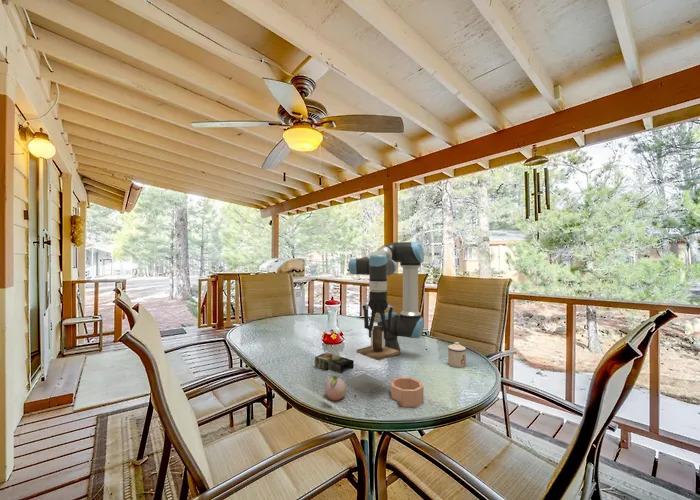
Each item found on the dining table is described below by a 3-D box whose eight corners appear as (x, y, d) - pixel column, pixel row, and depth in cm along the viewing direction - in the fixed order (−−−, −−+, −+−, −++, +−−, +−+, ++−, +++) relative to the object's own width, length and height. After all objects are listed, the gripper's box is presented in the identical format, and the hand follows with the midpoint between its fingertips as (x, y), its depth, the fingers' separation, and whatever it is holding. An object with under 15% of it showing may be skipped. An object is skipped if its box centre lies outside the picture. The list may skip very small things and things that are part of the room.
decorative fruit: (346, 406, 115) (347, 380, 115) (325, 407, 115) (325, 381, 115) (345, 395, 125) (345, 370, 125) (325, 395, 124) (325, 371, 124)
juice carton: (312, 366, 156) (312, 354, 156) (326, 361, 164) (326, 350, 164) (340, 377, 143) (341, 364, 143) (354, 371, 150) (354, 359, 150)
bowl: (384, 398, 122) (384, 383, 122) (403, 388, 130) (403, 374, 130) (410, 410, 113) (410, 394, 113) (428, 399, 121) (428, 384, 121)
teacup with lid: (464, 369, 152) (464, 346, 152) (446, 365, 157) (446, 343, 157) (468, 361, 163) (468, 340, 163) (450, 358, 167) (450, 337, 167)
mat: (341, 385, 134) (341, 381, 134) (363, 376, 143) (363, 373, 143) (364, 396, 123) (364, 392, 123) (386, 386, 133) (386, 382, 133)
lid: (356, 352, 129) (356, 326, 130) (377, 346, 138) (377, 322, 138) (378, 360, 120) (378, 332, 120) (399, 353, 128) (399, 327, 128)
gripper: (356, 291, 128) (356, 346, 128) (396, 292, 123) (396, 350, 122) (361, 289, 136) (361, 341, 135) (399, 290, 130) (399, 345, 130)
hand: (378, 345), depth 129 cm, fingers closed on lid, 4 cm apart
